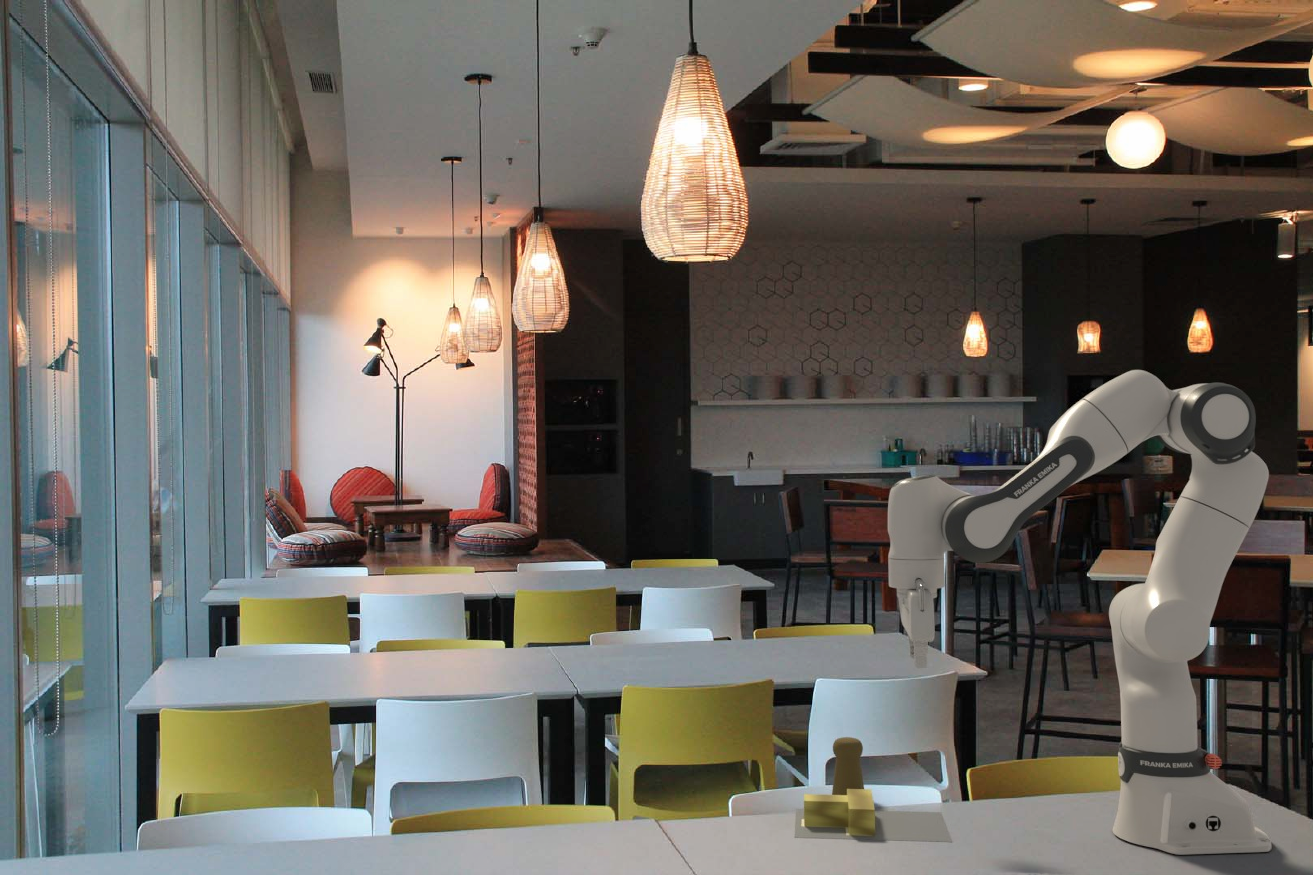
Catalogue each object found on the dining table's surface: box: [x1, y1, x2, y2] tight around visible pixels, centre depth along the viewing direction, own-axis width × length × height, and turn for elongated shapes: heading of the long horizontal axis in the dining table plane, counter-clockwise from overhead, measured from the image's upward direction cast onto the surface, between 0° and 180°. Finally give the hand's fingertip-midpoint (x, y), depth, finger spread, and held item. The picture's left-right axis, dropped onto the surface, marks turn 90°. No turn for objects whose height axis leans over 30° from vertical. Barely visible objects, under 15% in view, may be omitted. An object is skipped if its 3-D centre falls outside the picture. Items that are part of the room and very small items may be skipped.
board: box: [794, 808, 953, 843], centre depth 193 cm, size 24×16×1 cm, turn 83°
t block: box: [803, 788, 876, 835], centre depth 194 cm, size 11×12×4 cm
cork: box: [831, 736, 865, 795], centre depth 210 cm, size 6×6×11 cm
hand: (918, 662), depth 193 cm, fingers open, 8 cm apart
